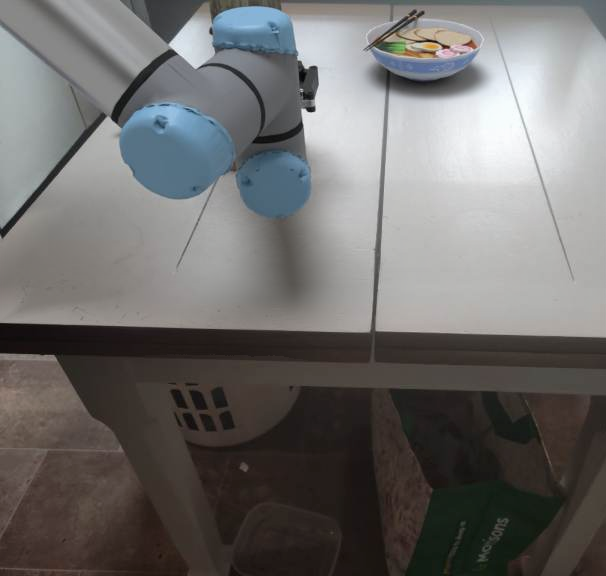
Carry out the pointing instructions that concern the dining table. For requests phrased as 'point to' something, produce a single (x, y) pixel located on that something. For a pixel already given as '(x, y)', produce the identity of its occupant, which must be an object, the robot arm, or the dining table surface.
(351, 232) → the dining table surface
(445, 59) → the ramen bowl
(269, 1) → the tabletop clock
